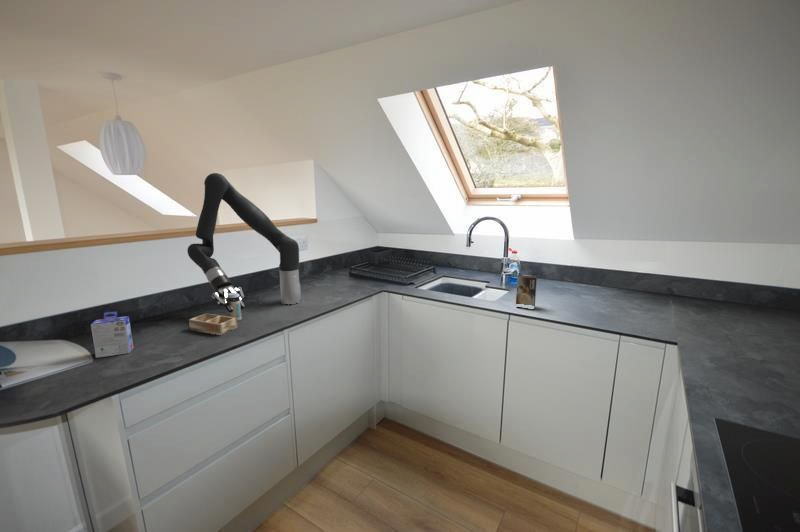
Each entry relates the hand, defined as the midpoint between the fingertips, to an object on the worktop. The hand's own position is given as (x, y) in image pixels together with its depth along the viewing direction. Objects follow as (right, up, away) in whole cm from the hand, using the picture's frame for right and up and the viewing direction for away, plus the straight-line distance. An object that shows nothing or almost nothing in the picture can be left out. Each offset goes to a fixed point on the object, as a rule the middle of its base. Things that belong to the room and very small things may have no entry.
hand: (237, 309), depth 160 cm
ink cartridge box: (-29, -12, -31) cm, 44 cm away
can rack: (-6, -7, -9) cm, 13 cm away
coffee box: (+133, -2, +23) cm, 135 cm away
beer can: (-2, -5, +2) cm, 6 cm away
